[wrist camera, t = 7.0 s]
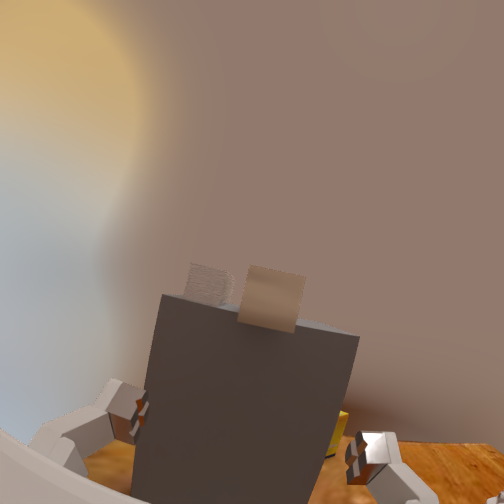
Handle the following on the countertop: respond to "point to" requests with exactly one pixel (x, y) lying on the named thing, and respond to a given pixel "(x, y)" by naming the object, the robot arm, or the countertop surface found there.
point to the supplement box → (337, 434)
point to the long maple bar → (271, 299)
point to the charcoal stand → (237, 407)
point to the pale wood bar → (209, 286)
